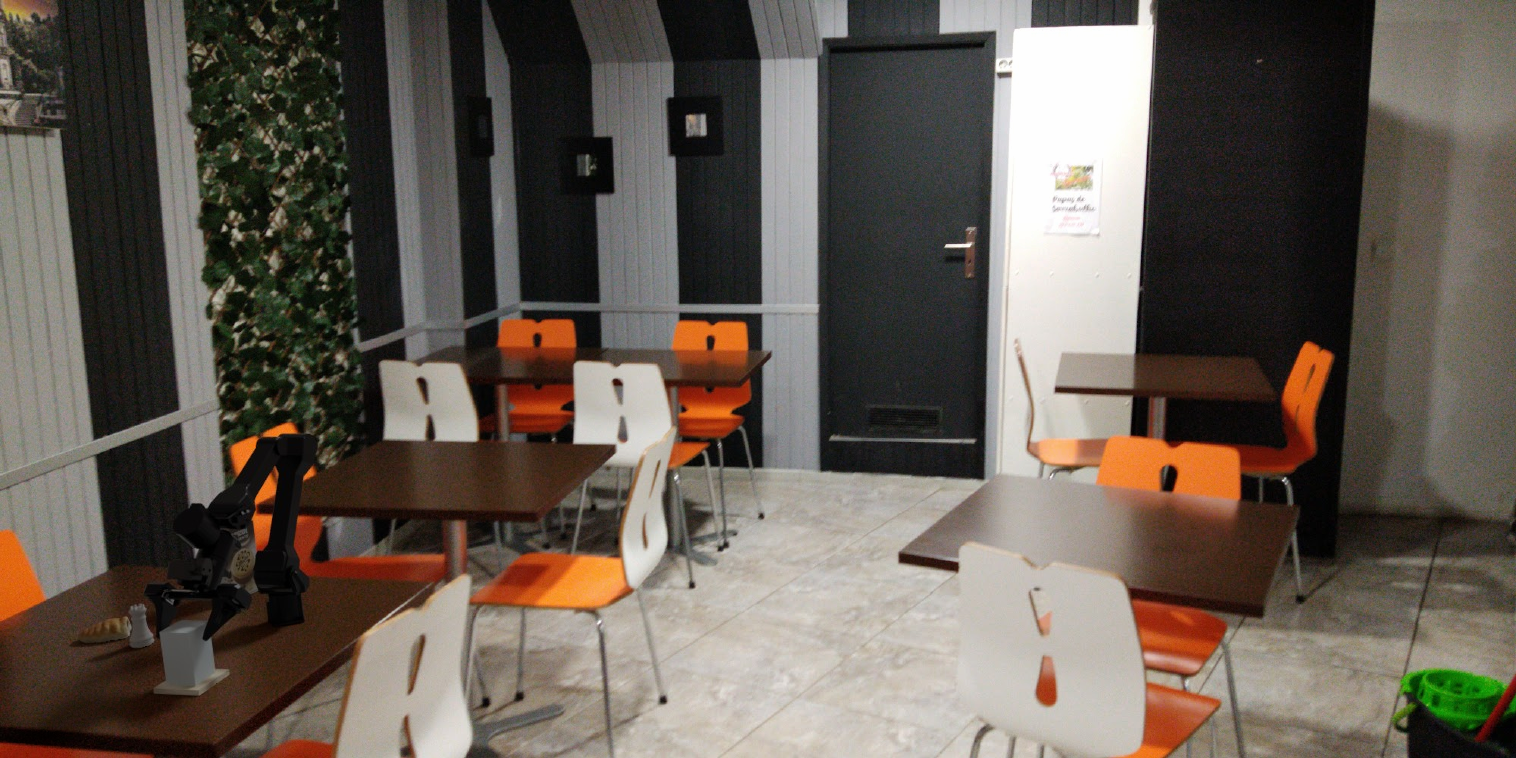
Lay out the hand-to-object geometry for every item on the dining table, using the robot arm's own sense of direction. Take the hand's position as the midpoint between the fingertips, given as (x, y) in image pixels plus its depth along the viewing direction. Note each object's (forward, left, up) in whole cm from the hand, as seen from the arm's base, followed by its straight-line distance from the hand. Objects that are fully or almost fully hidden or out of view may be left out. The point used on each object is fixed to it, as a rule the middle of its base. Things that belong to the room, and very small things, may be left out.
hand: (181, 639), depth 217 cm
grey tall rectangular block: (-1, -1, -8) cm, 8 cm away
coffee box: (-8, -49, -9) cm, 51 cm away
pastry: (+16, -35, -9) cm, 40 cm away
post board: (-1, -1, -9) cm, 9 cm away
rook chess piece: (+9, -27, -9) cm, 30 cm away
